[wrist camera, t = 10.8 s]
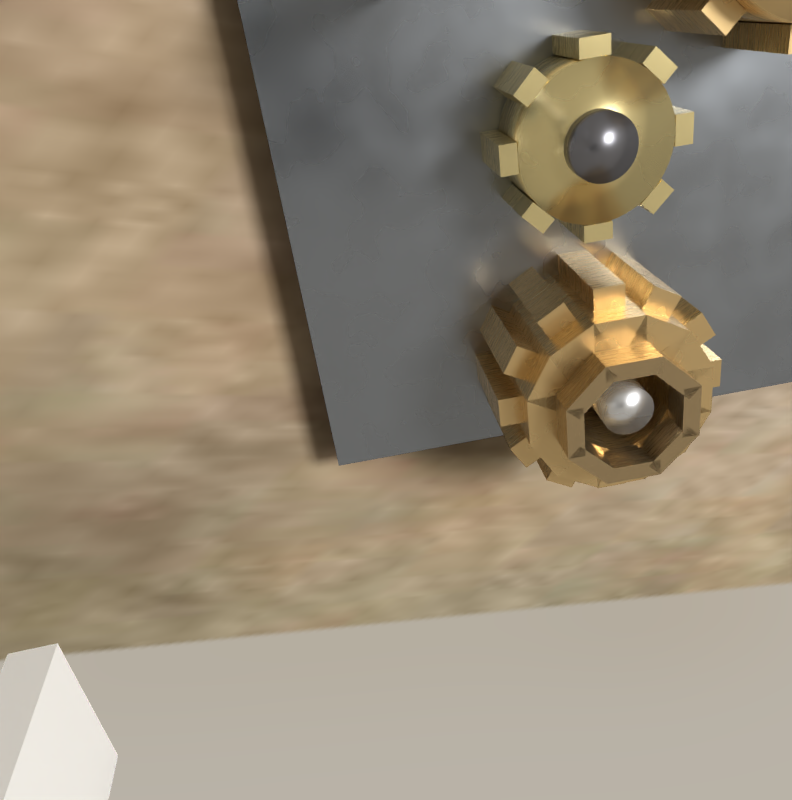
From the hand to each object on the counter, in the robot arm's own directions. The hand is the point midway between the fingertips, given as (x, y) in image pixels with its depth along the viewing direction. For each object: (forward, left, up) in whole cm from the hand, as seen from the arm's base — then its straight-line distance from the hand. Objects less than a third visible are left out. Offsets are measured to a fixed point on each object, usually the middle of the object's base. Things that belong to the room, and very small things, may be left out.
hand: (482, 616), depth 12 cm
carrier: (-3, +7, -20) cm, 21 cm away
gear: (+5, +7, -18) cm, 20 cm away
